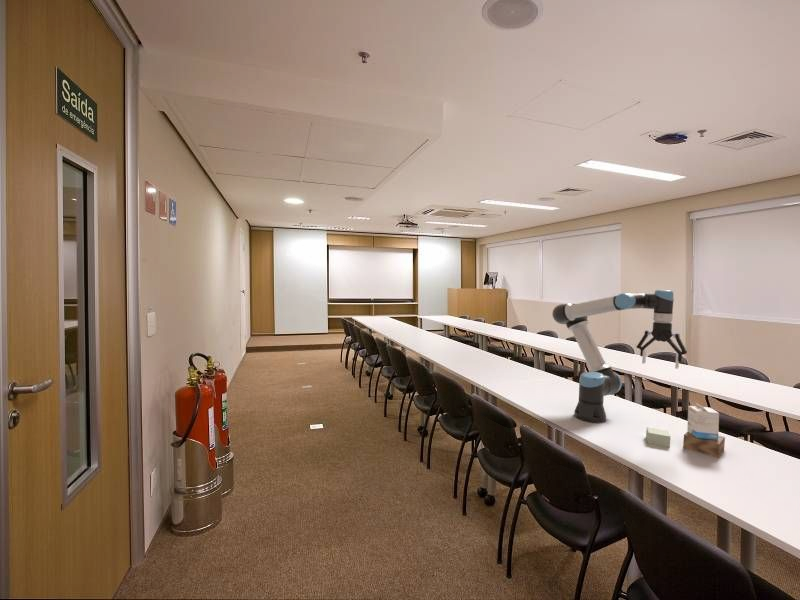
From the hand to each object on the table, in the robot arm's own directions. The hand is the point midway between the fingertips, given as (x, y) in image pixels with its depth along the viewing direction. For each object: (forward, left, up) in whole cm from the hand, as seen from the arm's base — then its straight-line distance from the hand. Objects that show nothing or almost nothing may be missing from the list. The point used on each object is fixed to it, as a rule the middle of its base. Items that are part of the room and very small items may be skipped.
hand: (659, 365), depth 186 cm
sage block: (+4, -17, -32) cm, 36 cm away
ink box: (+19, -10, -26) cm, 34 cm away
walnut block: (+20, -9, -32) cm, 39 cm away
